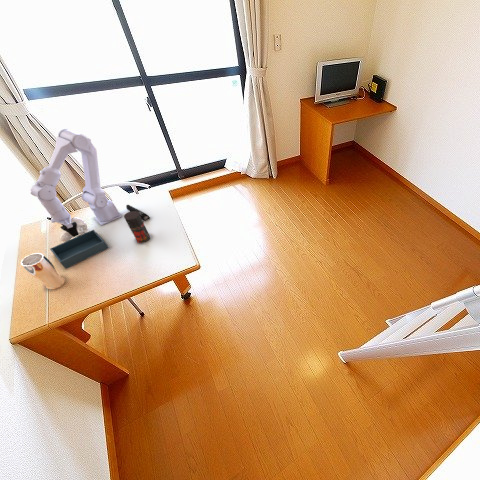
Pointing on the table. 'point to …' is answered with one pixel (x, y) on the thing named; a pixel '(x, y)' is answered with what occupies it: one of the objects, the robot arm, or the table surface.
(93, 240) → the bin
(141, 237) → the deodorant
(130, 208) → the electric trimmer
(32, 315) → the table surface
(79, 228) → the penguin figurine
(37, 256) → the beige tall cylinder
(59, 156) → the robot arm
